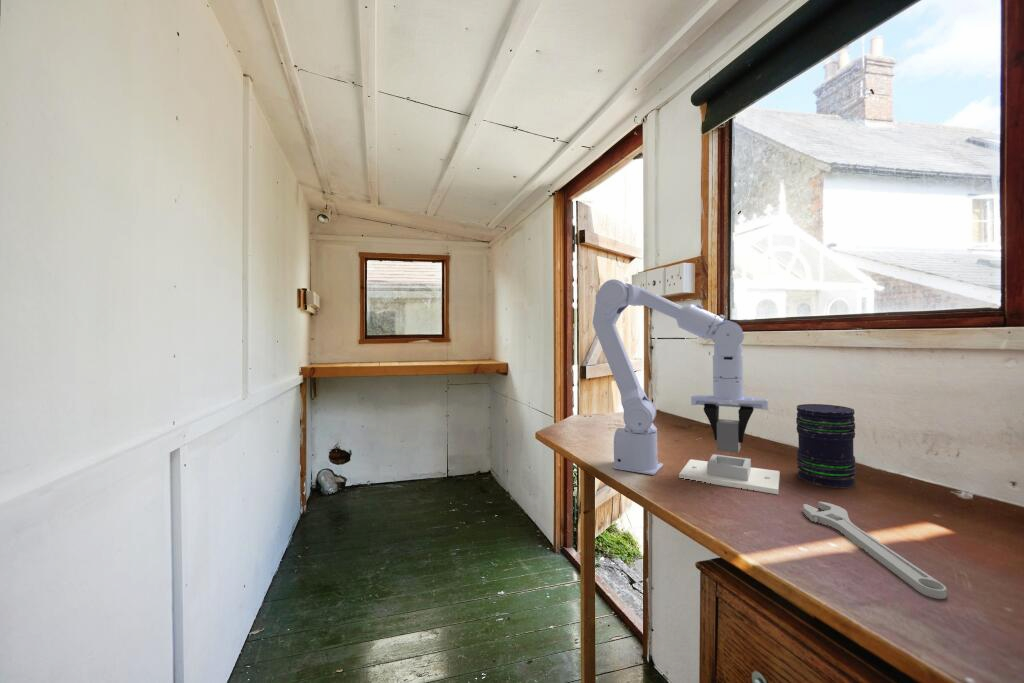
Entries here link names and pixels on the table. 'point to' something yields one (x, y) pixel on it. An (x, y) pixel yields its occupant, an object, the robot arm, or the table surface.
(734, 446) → the block
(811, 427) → the dark blue barrel
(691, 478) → the outlet plate
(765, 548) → the table surface
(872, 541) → the adjustable wrench
